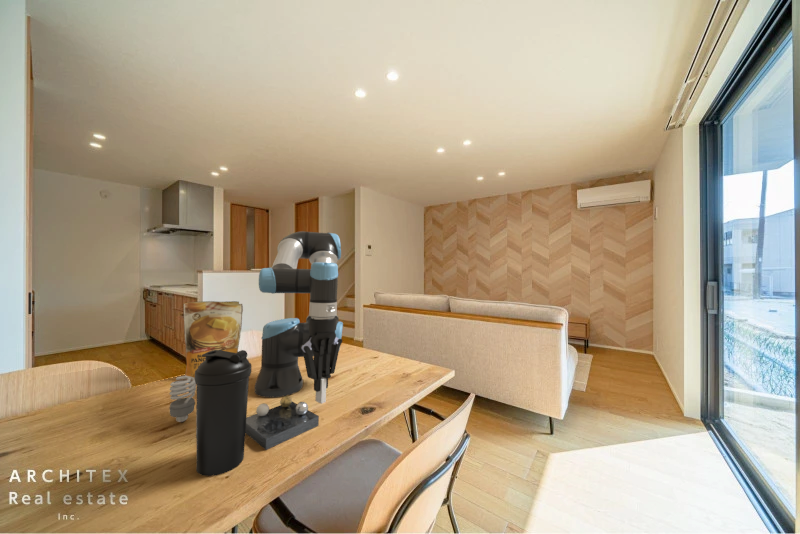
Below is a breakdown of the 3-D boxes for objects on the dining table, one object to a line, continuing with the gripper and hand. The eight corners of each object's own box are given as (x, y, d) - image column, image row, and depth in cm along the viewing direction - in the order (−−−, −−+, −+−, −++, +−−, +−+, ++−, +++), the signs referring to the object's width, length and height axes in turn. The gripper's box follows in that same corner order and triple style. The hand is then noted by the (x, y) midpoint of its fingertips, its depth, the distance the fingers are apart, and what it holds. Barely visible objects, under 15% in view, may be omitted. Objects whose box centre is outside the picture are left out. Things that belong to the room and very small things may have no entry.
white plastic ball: (254, 415, 76) (254, 404, 76) (265, 411, 78) (265, 400, 78) (259, 419, 74) (260, 407, 74) (271, 415, 76) (271, 403, 76)
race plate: (240, 429, 74) (241, 419, 74) (291, 409, 84) (291, 401, 85) (265, 450, 65) (266, 438, 65) (318, 425, 76) (318, 415, 76)
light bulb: (200, 419, 78) (201, 374, 78) (178, 429, 73) (179, 381, 73) (185, 415, 80) (186, 371, 80) (162, 425, 75) (164, 378, 75)
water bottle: (209, 448, 66) (212, 345, 66) (256, 446, 67) (259, 346, 67) (178, 480, 56) (183, 359, 56) (234, 478, 56) (238, 359, 57)
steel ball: (292, 414, 77) (293, 402, 77) (303, 410, 79) (303, 398, 79) (299, 418, 75) (300, 406, 75) (310, 414, 77) (310, 402, 77)
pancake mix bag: (182, 376, 108) (185, 301, 109) (240, 370, 116) (243, 300, 117) (177, 383, 102) (180, 303, 102) (239, 376, 110) (242, 301, 111)
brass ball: (277, 407, 81) (278, 396, 81) (287, 403, 83) (288, 392, 83) (283, 410, 79) (283, 399, 79) (293, 406, 81) (294, 395, 81)
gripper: (310, 321, 75) (308, 414, 74) (349, 316, 85) (347, 397, 84) (294, 317, 79) (291, 405, 79) (333, 313, 89) (330, 390, 89)
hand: (320, 401), depth 82 cm, fingers closed
